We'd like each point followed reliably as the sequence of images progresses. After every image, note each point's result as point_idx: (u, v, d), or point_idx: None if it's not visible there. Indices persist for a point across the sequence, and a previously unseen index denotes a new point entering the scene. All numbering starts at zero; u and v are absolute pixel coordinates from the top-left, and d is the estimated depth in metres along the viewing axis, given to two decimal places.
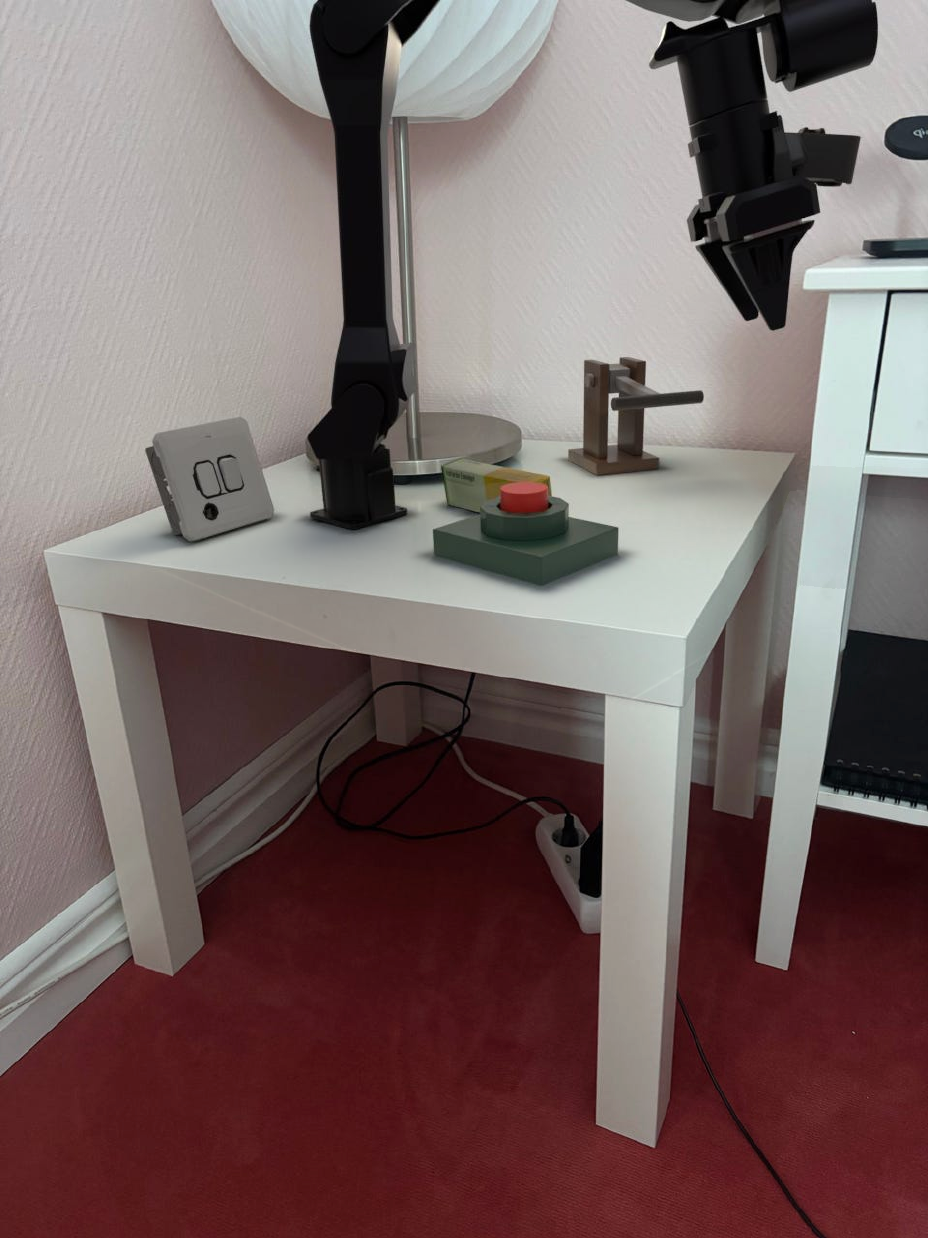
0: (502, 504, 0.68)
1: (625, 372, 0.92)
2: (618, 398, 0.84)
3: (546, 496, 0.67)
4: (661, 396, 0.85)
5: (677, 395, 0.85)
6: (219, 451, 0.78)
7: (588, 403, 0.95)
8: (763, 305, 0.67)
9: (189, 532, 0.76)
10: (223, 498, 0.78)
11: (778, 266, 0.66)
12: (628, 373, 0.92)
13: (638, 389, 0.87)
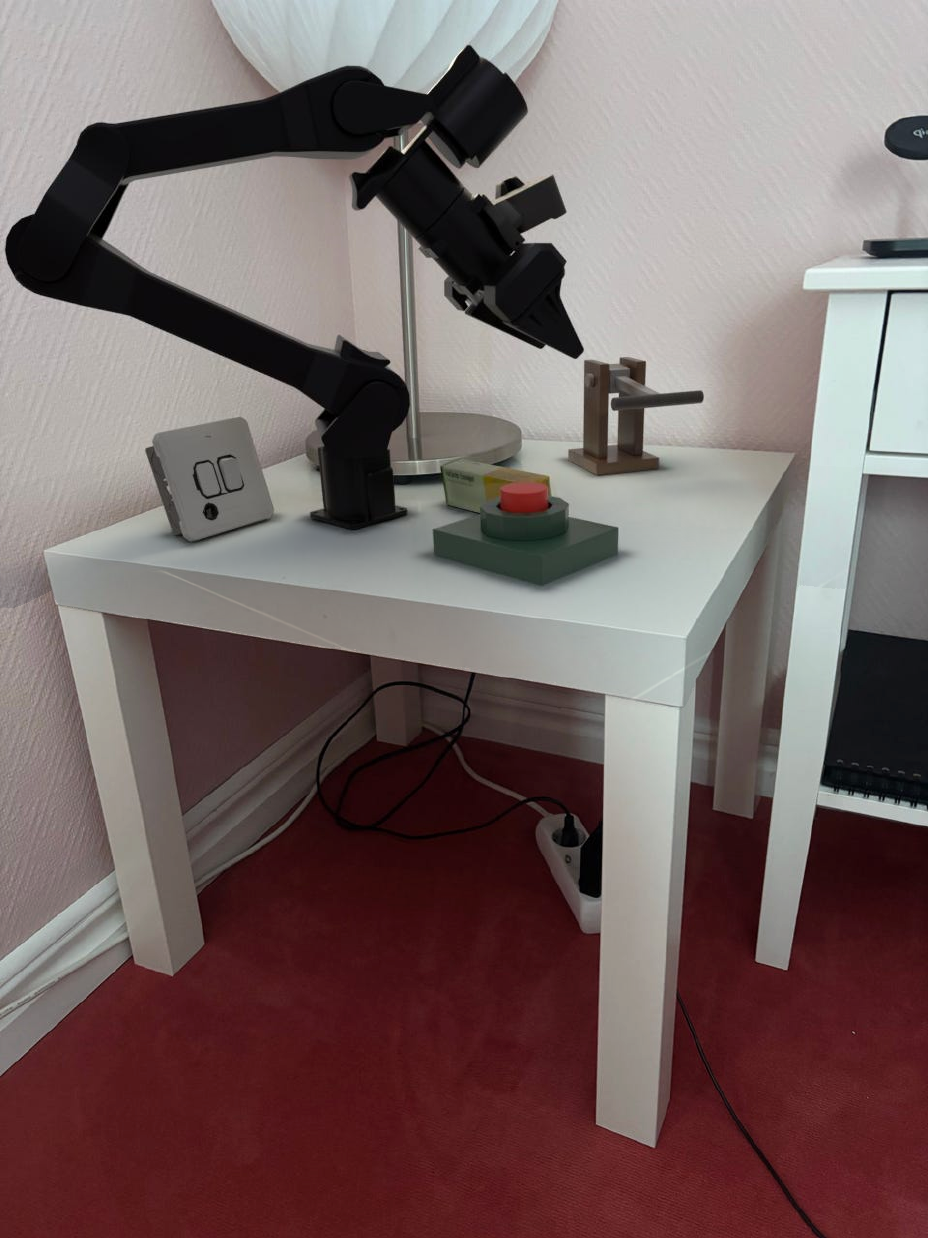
0: (502, 504, 0.68)
1: (625, 372, 0.92)
2: (618, 398, 0.84)
3: (546, 496, 0.67)
4: (661, 396, 0.85)
5: (677, 395, 0.85)
6: (219, 451, 0.78)
7: (588, 403, 0.95)
8: (559, 345, 0.75)
9: (189, 532, 0.76)
10: (223, 498, 0.78)
11: (554, 312, 0.73)
12: (628, 373, 0.92)
13: (638, 389, 0.87)
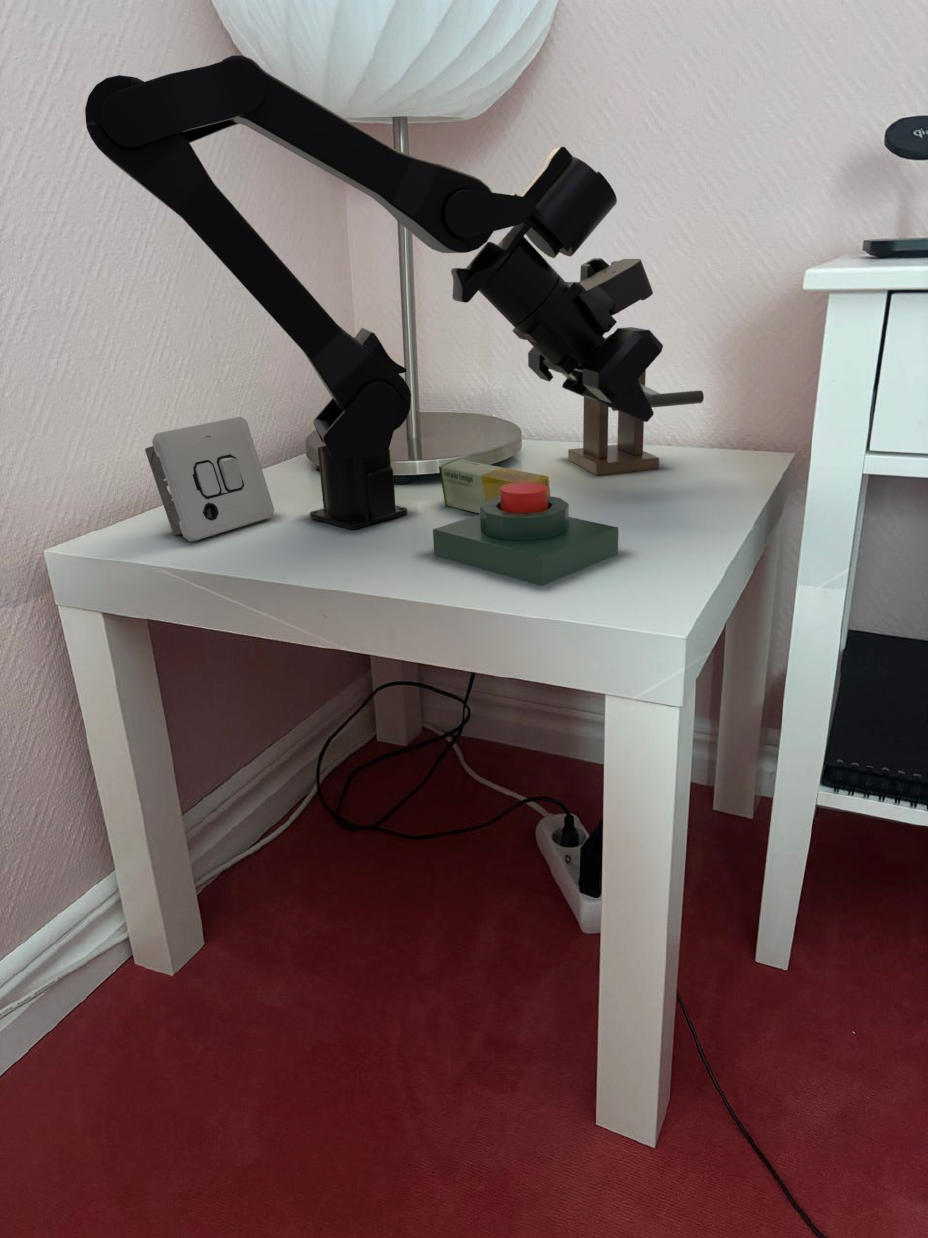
0: (502, 504, 0.68)
1: None
2: None
3: (546, 496, 0.67)
4: (661, 396, 0.85)
5: (677, 395, 0.85)
6: (219, 451, 0.78)
7: (588, 403, 0.95)
8: (633, 412, 0.83)
9: (189, 532, 0.76)
10: (223, 498, 0.78)
11: None
12: None
13: None
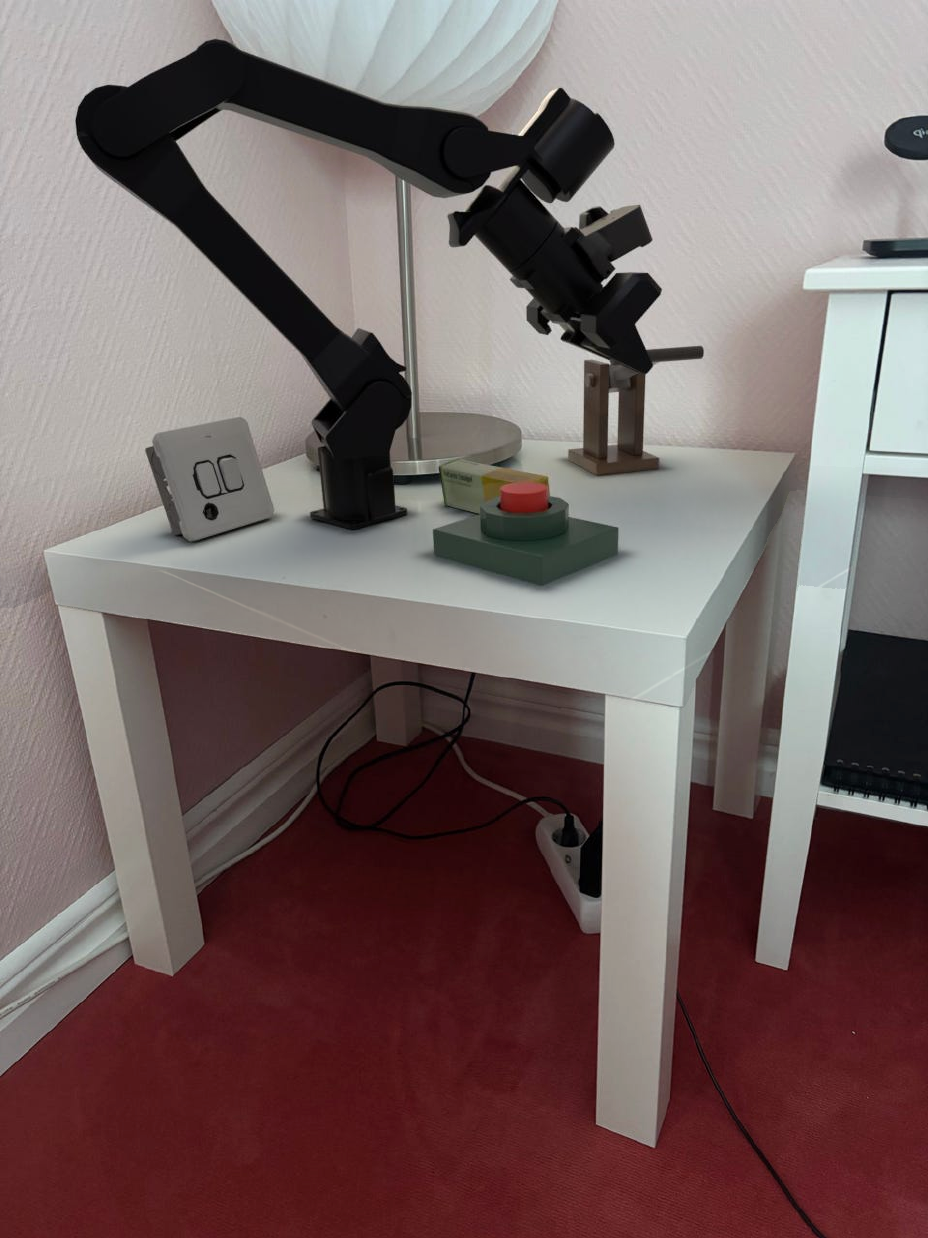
0: (502, 504, 0.68)
1: None
2: None
3: (546, 496, 0.67)
4: (660, 349, 0.84)
5: (676, 348, 0.84)
6: (219, 451, 0.78)
7: (588, 403, 0.95)
8: (632, 363, 0.82)
9: (189, 532, 0.76)
10: (223, 498, 0.78)
11: (627, 332, 0.80)
12: None
13: None
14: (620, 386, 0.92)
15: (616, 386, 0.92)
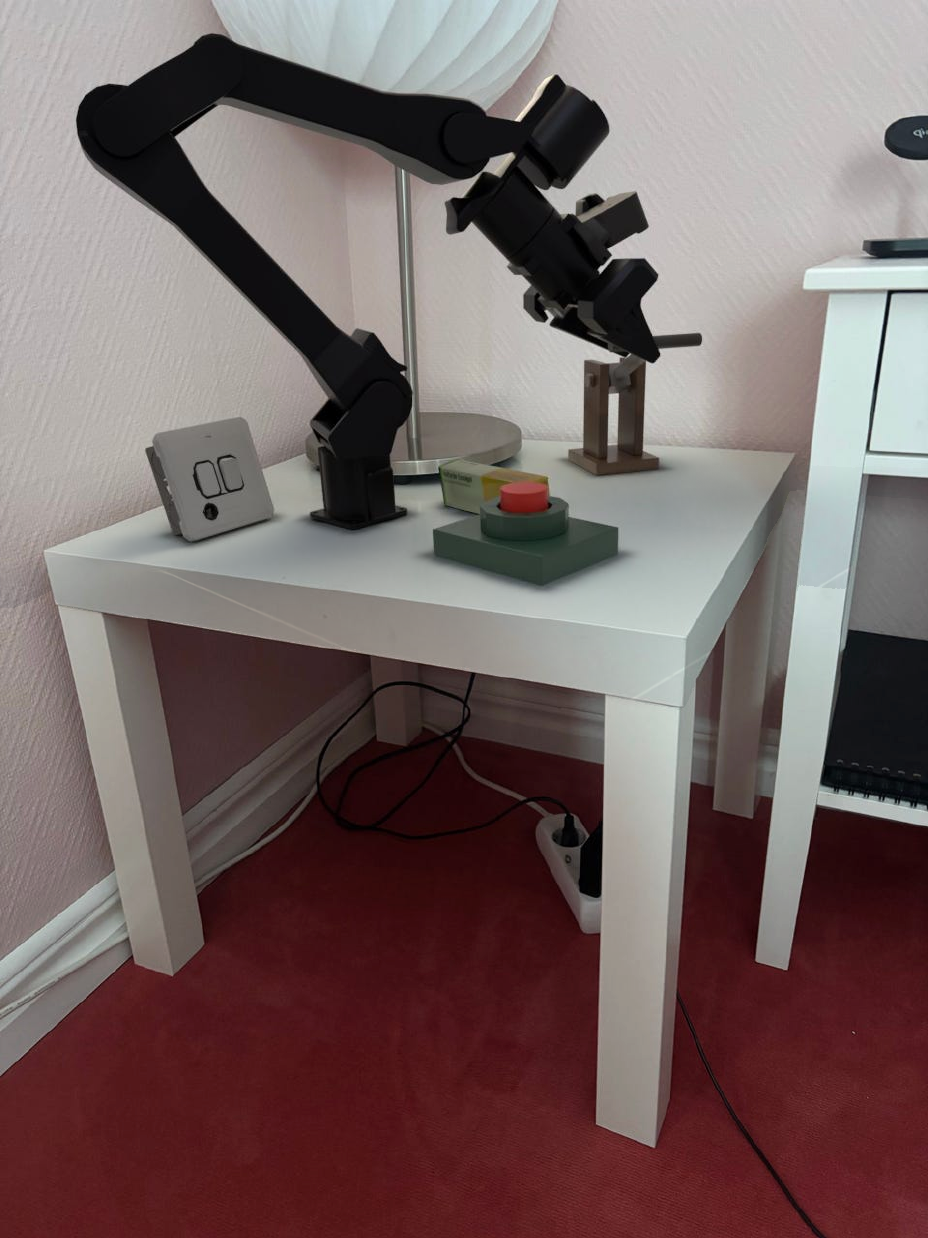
0: (502, 504, 0.68)
1: None
2: None
3: (546, 496, 0.67)
4: (658, 336, 0.84)
5: (674, 334, 0.84)
6: (219, 451, 0.78)
7: (588, 403, 0.95)
8: (639, 352, 0.80)
9: (189, 532, 0.76)
10: (223, 498, 0.78)
11: (635, 321, 0.79)
12: None
13: None
14: (620, 384, 0.92)
15: (616, 384, 0.92)
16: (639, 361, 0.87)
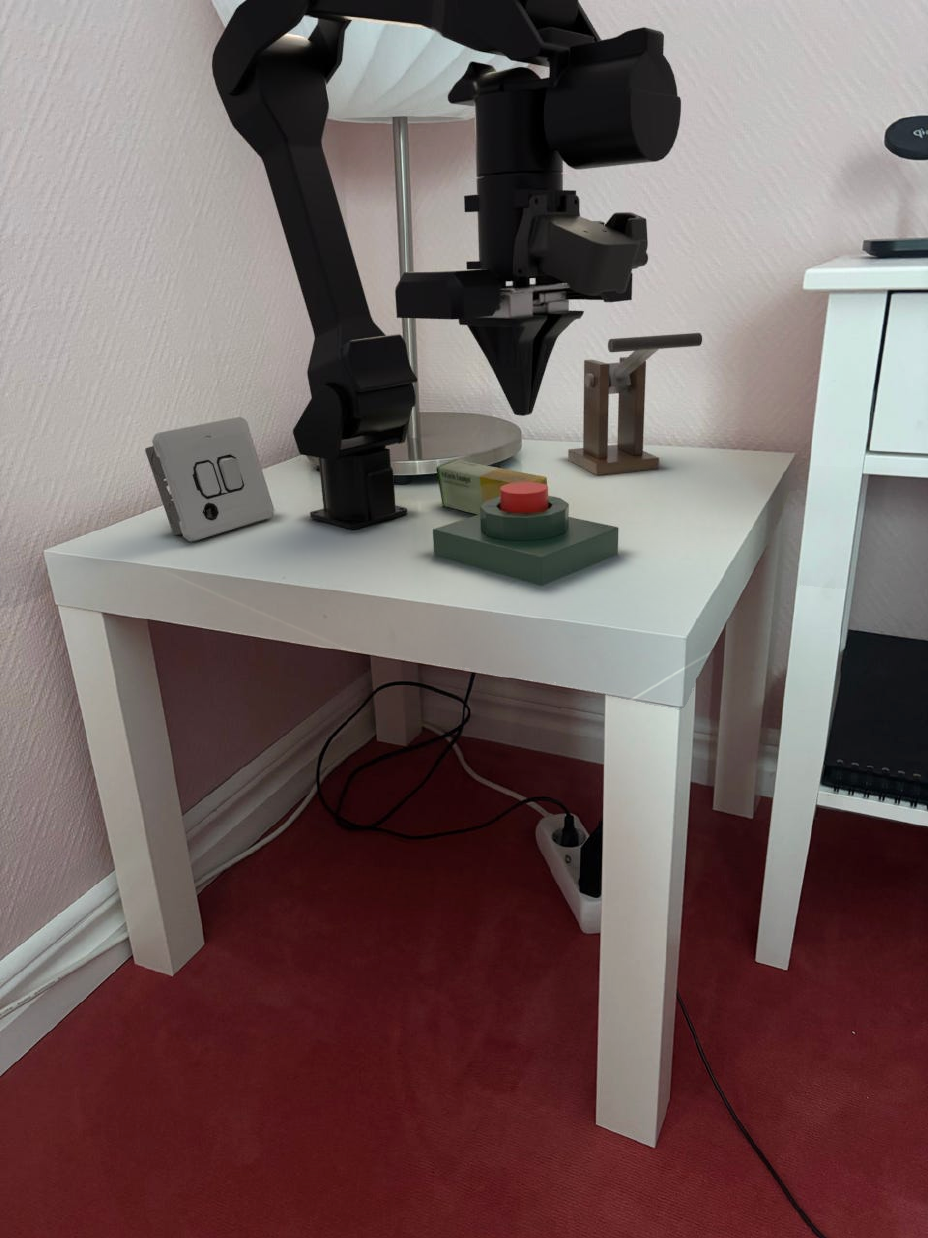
0: (502, 504, 0.68)
1: None
2: None
3: (546, 496, 0.67)
4: (658, 336, 0.84)
5: (674, 334, 0.84)
6: (219, 451, 0.78)
7: (588, 403, 0.95)
8: (504, 386, 0.65)
9: (189, 532, 0.76)
10: (223, 498, 0.78)
11: (513, 353, 0.63)
12: None
13: (635, 350, 0.87)
14: (620, 384, 0.92)
15: (616, 384, 0.92)
16: (639, 361, 0.87)
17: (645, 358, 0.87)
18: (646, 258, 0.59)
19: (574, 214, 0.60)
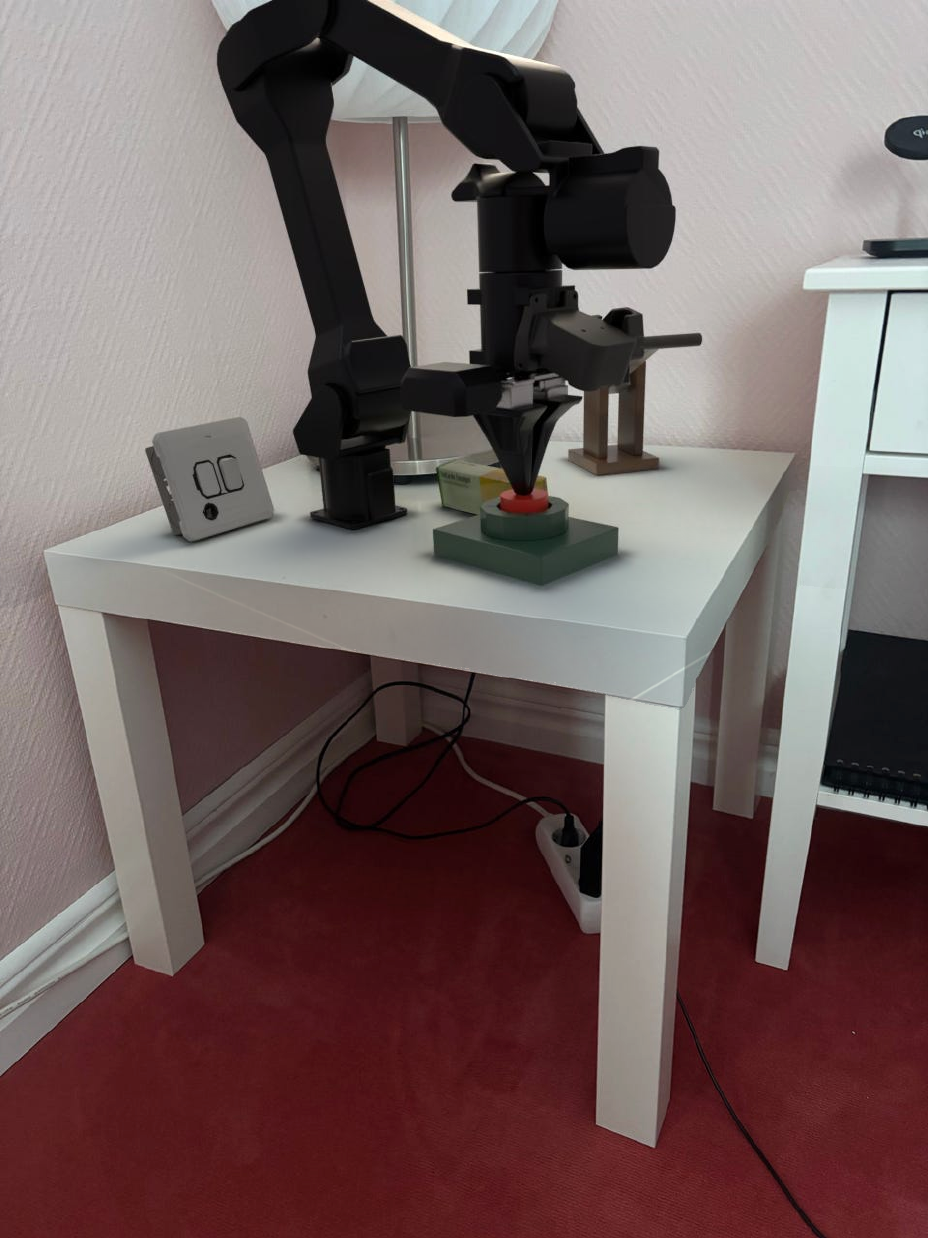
0: None
1: None
2: None
3: (546, 503, 0.67)
4: (658, 336, 0.84)
5: (674, 334, 0.84)
6: (219, 451, 0.78)
7: (588, 403, 0.95)
8: (505, 467, 0.67)
9: (189, 532, 0.76)
10: (223, 498, 0.78)
11: (514, 438, 0.65)
12: None
13: None
14: None
15: None
16: (639, 361, 0.87)
17: (645, 358, 0.87)
18: (643, 353, 0.61)
19: (573, 308, 0.62)
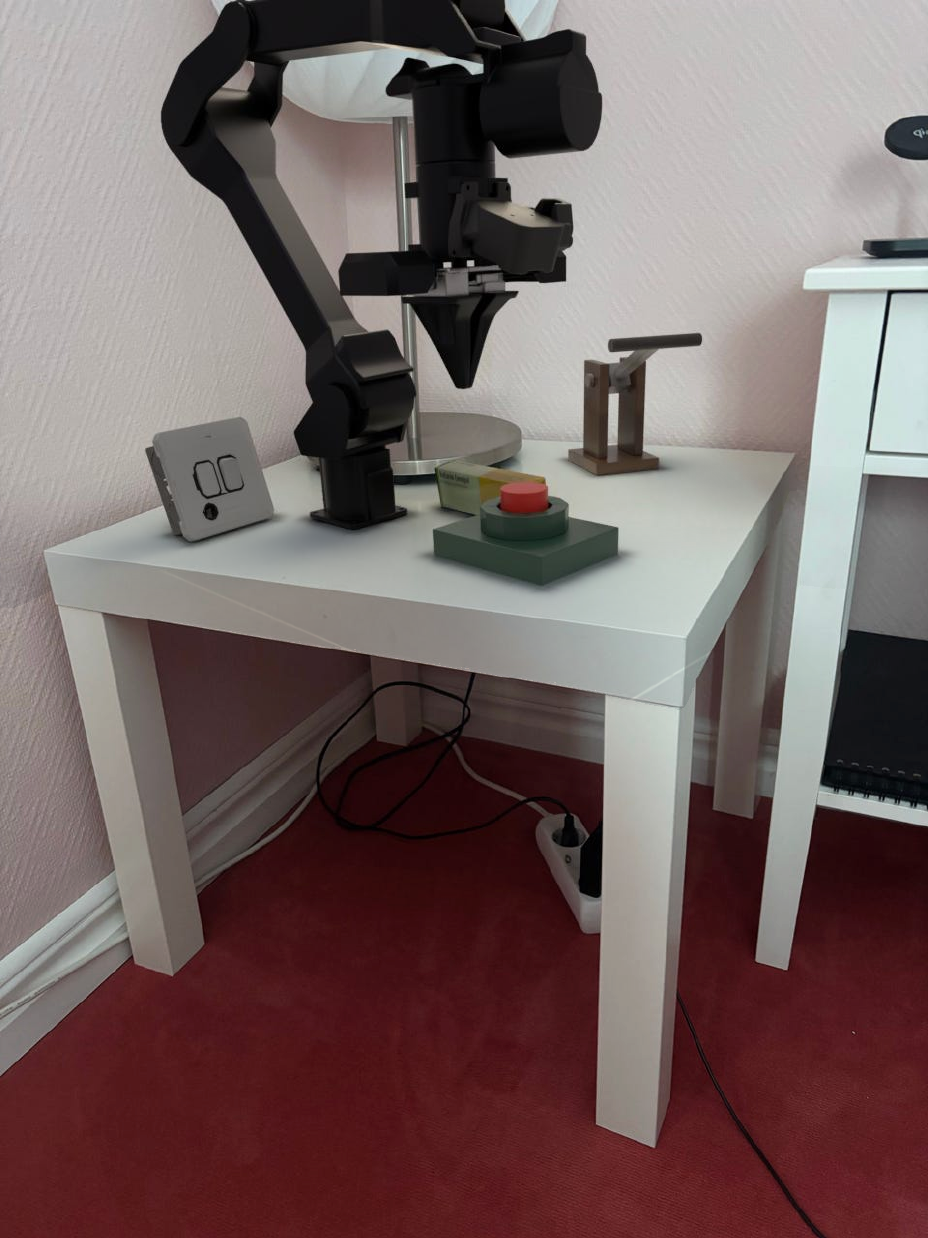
0: (502, 504, 0.68)
1: None
2: None
3: (546, 496, 0.67)
4: (658, 336, 0.84)
5: (674, 334, 0.84)
6: (219, 451, 0.78)
7: (588, 403, 0.95)
8: (445, 361, 0.70)
9: (189, 532, 0.76)
10: (223, 498, 0.78)
11: (452, 329, 0.68)
12: None
13: (635, 350, 0.87)
14: (620, 384, 0.92)
15: (616, 384, 0.92)
16: (639, 361, 0.87)
17: (645, 358, 0.87)
18: (571, 241, 0.63)
19: (506, 200, 0.65)
